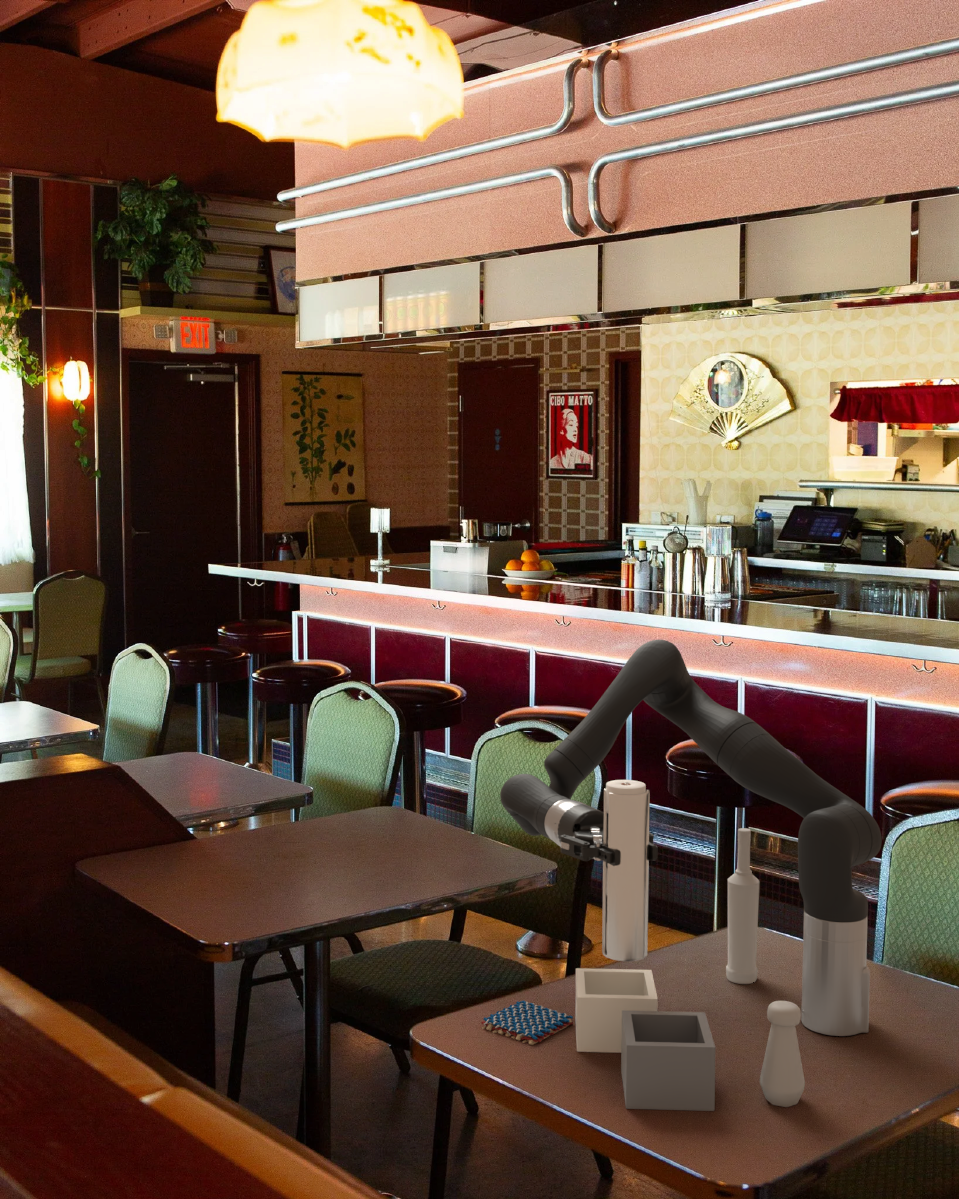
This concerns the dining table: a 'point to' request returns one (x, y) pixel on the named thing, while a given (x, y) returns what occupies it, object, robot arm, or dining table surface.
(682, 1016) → the grey open box
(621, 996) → the white open box
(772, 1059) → the salt shaker
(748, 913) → the bottle
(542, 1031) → the woven mat
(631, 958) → the silver tall cylinder
